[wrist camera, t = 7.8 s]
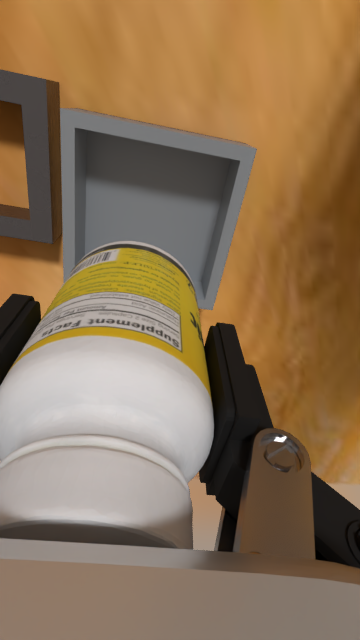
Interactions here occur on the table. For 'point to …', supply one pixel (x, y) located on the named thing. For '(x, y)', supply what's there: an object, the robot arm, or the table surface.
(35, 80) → the socket collar
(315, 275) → the table surface
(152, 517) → the supplement bottle
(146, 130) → the tray
